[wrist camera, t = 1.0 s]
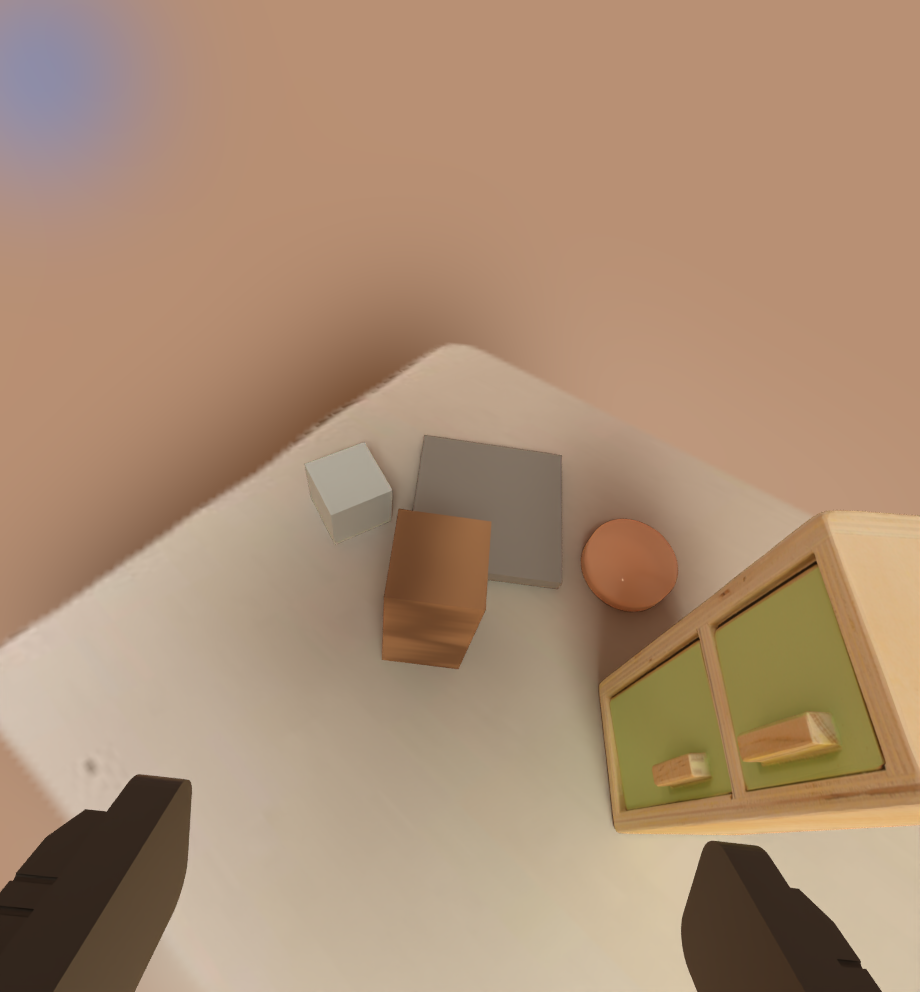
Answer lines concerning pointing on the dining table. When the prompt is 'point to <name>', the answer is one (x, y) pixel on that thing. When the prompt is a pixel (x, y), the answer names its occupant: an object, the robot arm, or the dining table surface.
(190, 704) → the dining table surface
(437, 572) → the walnut block
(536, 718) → the dining table surface
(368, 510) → the grey cube
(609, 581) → the orange disc
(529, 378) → the dining table surface
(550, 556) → the slate coaster
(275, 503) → the dining table surface
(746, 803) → the toy refrigerator
